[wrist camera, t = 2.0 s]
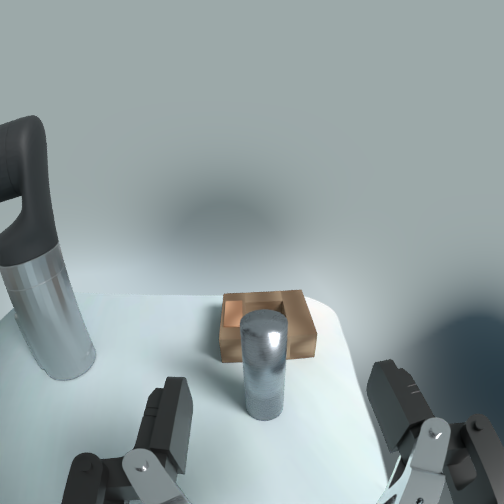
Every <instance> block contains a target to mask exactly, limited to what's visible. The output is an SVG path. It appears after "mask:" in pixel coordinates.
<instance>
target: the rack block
mask: <svg viewBox="0 0 504 504" xmlns="http://www.w3.org/2000/svg"><path fill="white" fill-rule="evenodd" d="M261 309H268V310H274V311H277V312H279V313H281V314H283V315H284V316H285V317H286V318H287V321H288V334H287V353H286V360H287V359H299V358H309V357H314V355H315V348H316V340H317V332H316V329H315V326H314V323H313V320H312V317H311V315H310V312H309V309H308V306H307V304H306V301H305V298H304V295H303V293H302V290H289V291H273V292H251V293H228V294H224V295H223V304H222V314H221V324H220V334H219V344H220V351H221V358H222V363H231V362H243V360H242V348H241V335H240V320H241V318H242V317H243V316H244V315H246V314H247V313H249V312H252V311H255V310H261Z"/></svg>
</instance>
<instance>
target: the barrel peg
mask: <svg viewBox="0 0 504 504" xmlns="http://www.w3.org/2000/svg"><path fill="white" fill-rule="evenodd" d="M287 334H288V321H287V318H286V317H285V316H284V315H283V314H281V313H279V312H277V311H274V310H268V309H261V310H255V311H252V312H249V313H247V314H246V315H244V316H243V317H242V318H241V320H240V335H241V348H242V360H243V373H244V384H245V396H246V407H247V412H248V413H249V415H250V416H251V417H253V418H255V419H257V420H261V421H268V420H272V419H274V418H276V417H278V416H279V415H280V414H281V412H282V410H283V400H284V386H285V371H286V353H287Z"/></svg>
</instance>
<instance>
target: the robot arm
mask: <svg viewBox="0 0 504 504" xmlns="http://www.w3.org/2000/svg"><path fill="white" fill-rule="evenodd" d="M19 196H22V210H21V213H20V214H19V216H18V217H17V219H16V220H15V221H14V222H13V223H12V224H11V225H10V226H9V227H8V228H7V229H5V230H4V231H3V232H2V233H1V234H0V272H1V275H2V278H3V281H4V284H5V286H6V289H7V292H8V294H9V297H10V299H11V302H12V304H13V307H14V309H15V312H16V313H15V319H16V321H17V324H18V326H19V328H20V330H21V332H22V334H23V336H24V338H25V340H26V342H27V344H28V346H29V348H30V350H31V352H32V354H33V355H34V357H35V359H36V361H37V363H38V364H39V366H40V368H43V369H45V371H46V372H47V374H48V375H49V376H50V377H52V378H54V379H57V380H70V379H73V378H76V377H78V376H80V375H82V374H83V373H85V372H86V371H87V370H88V369H89V368H90V367H91V366H92V364H93V363H94V360H95V358H96V351H95V348H94V346H93V343H92V341H91V338H90V336H89V334H88V331H87V328H86V326H85V323H84V321H83V318H82V315H81V313H80V310H79V307H78V304H77V302H76V299H75V296H74V293H73V290H72V287H71V283H70V280H69V277H68V274H67V270H66V267H65V263H64V260H63V256H62V253H61V249H60V244H59V241H58V236H57V232H56V227H55V221H54V215H53V210H52V203H51V197H50V189H49V178H48V161H47V143H46V135H45V130H44V126H43V124H42V122H41V120H40V119H39V118H38V117H37V116H33V115H32V116H26V117H23V118H19V119H16V120H14V121H11V122H7V123H5V124H2V125H0V202H3V201H6V200H9V199H13V198H16V197H19ZM367 396H368V399H369V401H370V403H371V406H372V408H373V411H374V413H375V416H376V418H377V420H378V423H379V426H380V428H381V431H382V433H383V436H384V438H385V441H386V443H387V446H388V449H389V451H390V453H392V452H395V451H398V450H399V452H400V456H399V458H398V461H397V463H396V466H395V468H394V471H393V473H392V475H391V478H390V480H389V482H388V485H387V487H386V489H385V491H384V493H383V494H382V496H381V497H380V498H379V500H378V502H377V503H376V504H438V502H439V498H440V495H441V492H442V489H443V486H444V482H445V479H446V482H447V485H448V488H449V491H450V494H451V496H452V500H453V503H454V504H504V448H503V446H502V444H501V442H500V440H499V438H498V436H497V434H496V432H495V430H494V428H493V426H492V424H491V423H490V421H489V419H488V418H487V417H486V416H484V415H482V414H474V415H472V416H470V417H469V418H468V420H467V421H466V422H464V423H454V424H448V423H447V422H446V421H445V420H443V419H441V418H436V417H435V416H434V415H433V413H432V411H431V409H430V408H429V406H428V404H427V402H426V401H425V399H424V397H423V395H422V393H421V392H420V391H419V388H418V386H417V385H416V384H415V381H414V380H413V378H412V376H411V375H410V374H409V373H408V372H407V371H405V370H404V369H403V368H400V369H398V368H397V367H396V365H395V363H394V361H393V360H391V359H389V360H385V361H380V362H375V363H374V365H373V368H372V371H371V374H370V377H369V380H368V383H367ZM192 414H193V401H192V397H191V394H190V390H189V387H188V384H187V380H186V378H185V377H167V378H166V381H165V385H164V388H156V389H155V390H154V391H153V392H152V393H151V394H150V396H149V397H148V401H147V404H146V409H145V411H144V417H143V418H142V422H141V425H140V429H139V433H138V436H137V440H136V444H135V446H134V448H133V450H131V451H129V452H128V453H127V454H126V455H125V456H123V457H120V458H110V459H100V458H99V457H98V456H96V455H95V454H92V453H81V454H79V455H77V456H76V457H75V458H74V460H73V462H72V465H71V468H70V472H69V475H68V479H67V483H66V487H65V491H64V495H63V499H62V503H61V504H129V500H139V499H140V500H141V501H142V503H143V504H192V503H191V502H190V501H189V500H188V498H187V497H186V496H185V495H184V493H183V492H182V491H181V489H180V488H179V487H178V485H177V484H176V477H177V474H185V467H186V459H187V451H188V443H189V436H190V428H191V421H192ZM469 455H470V456H469ZM470 457H471V458H470ZM472 462H473V463H472ZM474 467H475V468H474ZM475 469H476V470H475ZM442 471H443V473H444V474H443V473H442Z"/></svg>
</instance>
